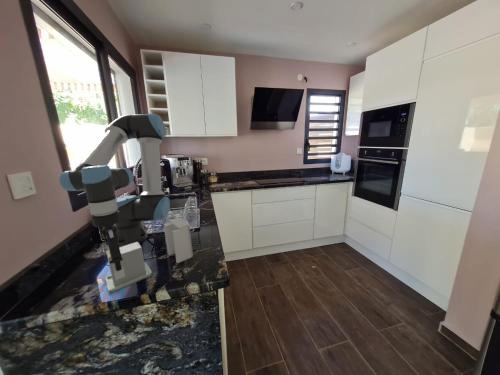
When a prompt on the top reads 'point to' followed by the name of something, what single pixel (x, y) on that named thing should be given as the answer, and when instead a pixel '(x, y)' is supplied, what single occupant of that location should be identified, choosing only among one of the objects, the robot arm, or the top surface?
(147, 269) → the tray
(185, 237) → the printer bay
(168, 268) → the top surface
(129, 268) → the upright pale grey block
